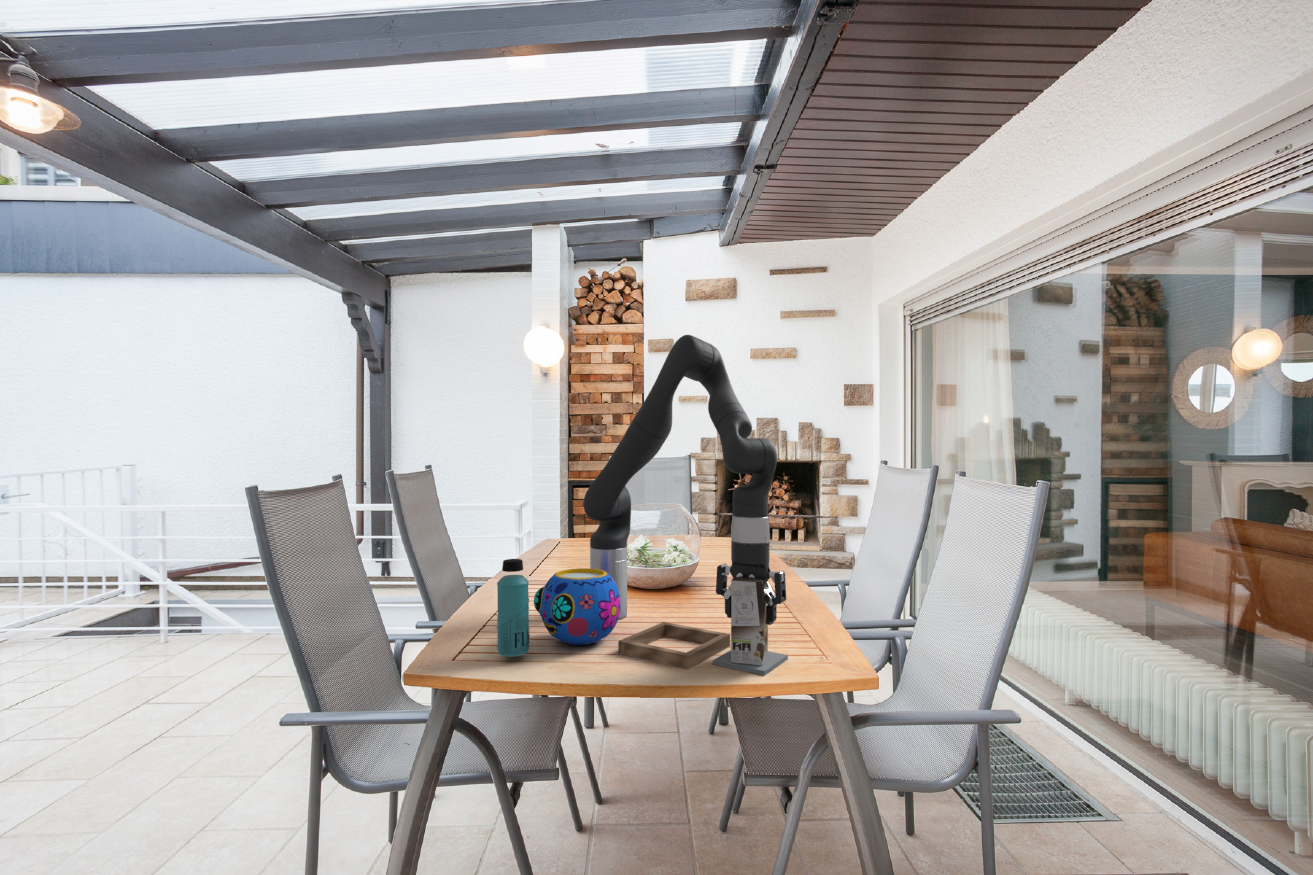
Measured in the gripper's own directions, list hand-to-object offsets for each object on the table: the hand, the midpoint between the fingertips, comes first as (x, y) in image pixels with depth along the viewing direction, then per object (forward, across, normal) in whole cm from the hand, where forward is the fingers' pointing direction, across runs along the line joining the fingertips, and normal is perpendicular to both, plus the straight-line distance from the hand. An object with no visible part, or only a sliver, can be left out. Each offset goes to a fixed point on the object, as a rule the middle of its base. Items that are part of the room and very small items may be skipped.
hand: (750, 620), depth 129 cm
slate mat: (+8, 0, 0) cm, 8 cm away
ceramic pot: (+8, -36, -9) cm, 38 cm away
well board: (+8, -16, -2) cm, 18 cm away
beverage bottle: (+8, -40, -25) cm, 48 cm away
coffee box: (+8, 0, 0) cm, 8 cm away
